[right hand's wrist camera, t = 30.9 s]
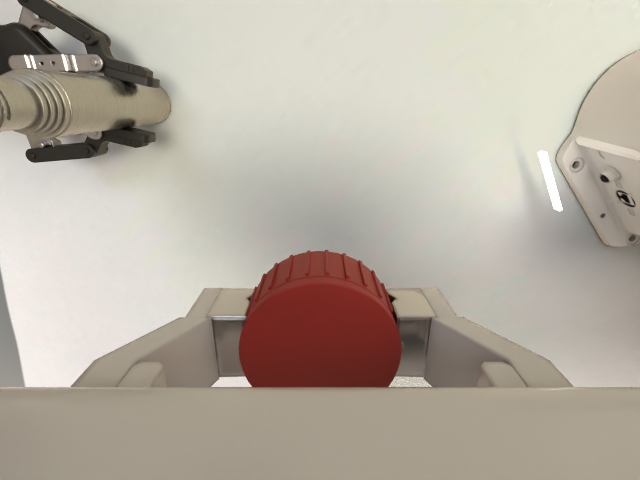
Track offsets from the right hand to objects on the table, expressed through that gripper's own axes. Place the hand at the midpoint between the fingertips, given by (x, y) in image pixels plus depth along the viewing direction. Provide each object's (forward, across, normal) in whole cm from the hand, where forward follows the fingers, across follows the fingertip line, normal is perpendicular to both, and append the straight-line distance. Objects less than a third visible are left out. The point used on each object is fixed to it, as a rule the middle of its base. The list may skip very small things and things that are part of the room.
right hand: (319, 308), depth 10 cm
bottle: (+30, +18, -6) cm, 36 cm away
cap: (-2, 0, 0) cm, 2 cm away
